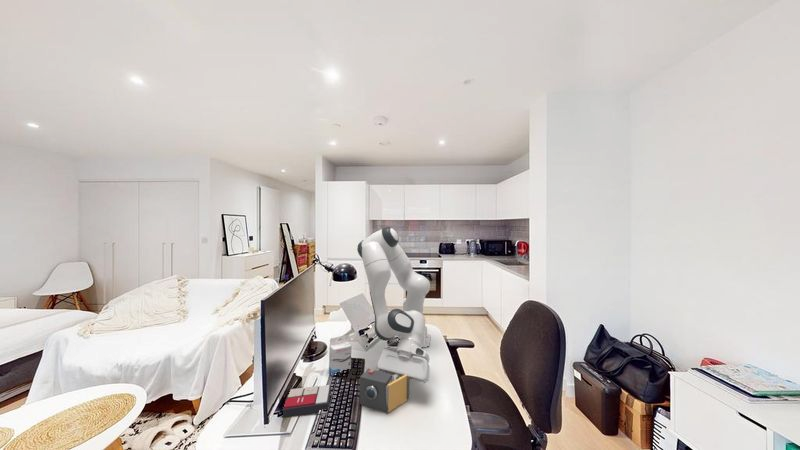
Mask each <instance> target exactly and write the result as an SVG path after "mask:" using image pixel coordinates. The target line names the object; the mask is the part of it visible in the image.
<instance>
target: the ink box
mask: <svg viewBox="0 0 800 450" xmlns="http://www.w3.org/2000/svg"><path fill="white" fill-rule="evenodd" d="M339 339H340V340H339ZM328 356H329V359H328V360H329V361H328V373H329V374H330V373H332V374H334V373H337V372H340V371H343V370H347V369H352V344H351V343H350V342H349V341H348V334H347V335H340V336H335V337H331V338H330V339H329V355H328Z"/></svg>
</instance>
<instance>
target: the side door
mask: <svg viewBox="0 0 800 450" xmlns="http://www.w3.org/2000/svg"><path fill="white" fill-rule="evenodd" d="M410 380H411V379H410V377H408V375H404V376H402V377H399V379H397V380H392V382H391V383H389V384H388V385H386V404H385V412H384V413H385V414H389V413H390V412H391V411H393V410H394V409H397V408H398V407H399V406H400V405H401V404H403V403H405V402H407V401H408V400H410V390H411V389H410V386H411V385H410V383H411V382H410Z"/></svg>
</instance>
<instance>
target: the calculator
mask: <svg viewBox="0 0 800 450" xmlns="http://www.w3.org/2000/svg"><path fill="white" fill-rule="evenodd" d="M289 391H290V392H288V393H289V394H288V393H287V396H286V398H285V402H284V403H285V404H284V403H283V405H284V407H283V406H282V408H283V409H282V408H281V412H282V411H283V416H282V415H281V417H282V418H292V417H302V416H309V415H318V414H317V413H318V412H319V410H322V409H328V407H329V408H330V406H329V401H330V402H331V400H330V394H331V395H332V385H331V384H326V385H314V386H307V387H298V388H291V389H290V390H289Z"/></svg>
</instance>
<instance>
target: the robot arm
mask: <svg viewBox="0 0 800 450" xmlns="http://www.w3.org/2000/svg"><path fill="white" fill-rule="evenodd" d="M399 241H400V239H399V235H398V233H397V231H396V230H395V229H394V228H393V227H392V226H385V227H382V228H381V229H379V230H377V231H374V233H371V234H370V235H369V236H367V237H366V238H365V239H362V240H361V241H359V243H358V245H357V249H356V250H357V253H358V255H359V257H360V258H361V259H362V264H363V267H364V271H365V273H366V274H365V275H366V278H367V283H368V288H369V289H368V290H369V294H370V295H369V296H370V300H371V305H372V309H373V314H374V326H373V327H374V332H375V334H376V336H377V338H379V339H380V340H381V341H387V342H389V341H391V340H393V338H395V337H396V336H397V337H398V338H400V340H399V343H398V342H397V346H396V348H394V347H390V346H387V347H385V348H383V349H382V351H381V354H380V357H379V359H378V360H377V361H378V362H377V364H376V368H377V371H380V372H384V373H388V374H392V376H393V378H394V379H393V381H395V380H397V379H399V378H400V377H402V376H404V375H408V377H410V380H412V381H415V382H420V383H423V384H426V383H428V382H429V377H430V369H431V368H430V365H429V363H430V355H429V354H428V352H427V351H426V350H424V349H423V348H428V347H427V346H429V347H430V345H429V343H430V344H431V339H430V337H431V334H429V333H428V328H427V326H426V317H425V315H424V303H425V298H426V296H427V294H428V293H429V292H430V290H431V282H430V280H429V279H427V277H425V276H424V274H423V275H422V274H420V273H417V272H416V271H415V270H414V268H413V266H412V264H411V262H412V261H411V259H409V257H408V256H407V254H406V252H405V250H403V248H402V246H401V245H400V244H399ZM392 272H393V274H394V275H395V278H396V280H397V282H398V284H399V286H400V287H401V288H402V289H403V290H405V291H406V296H405V300H404V301H403V303H402V304H403V305H402V309H400V308H393V309H391V310H390V311H389V310H388V305H387V301H386V297H385V294H386V293H385V292H386V289H387V287H388V283H389V281H390V279H391V275H392ZM422 347H423V348H422Z"/></svg>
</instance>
